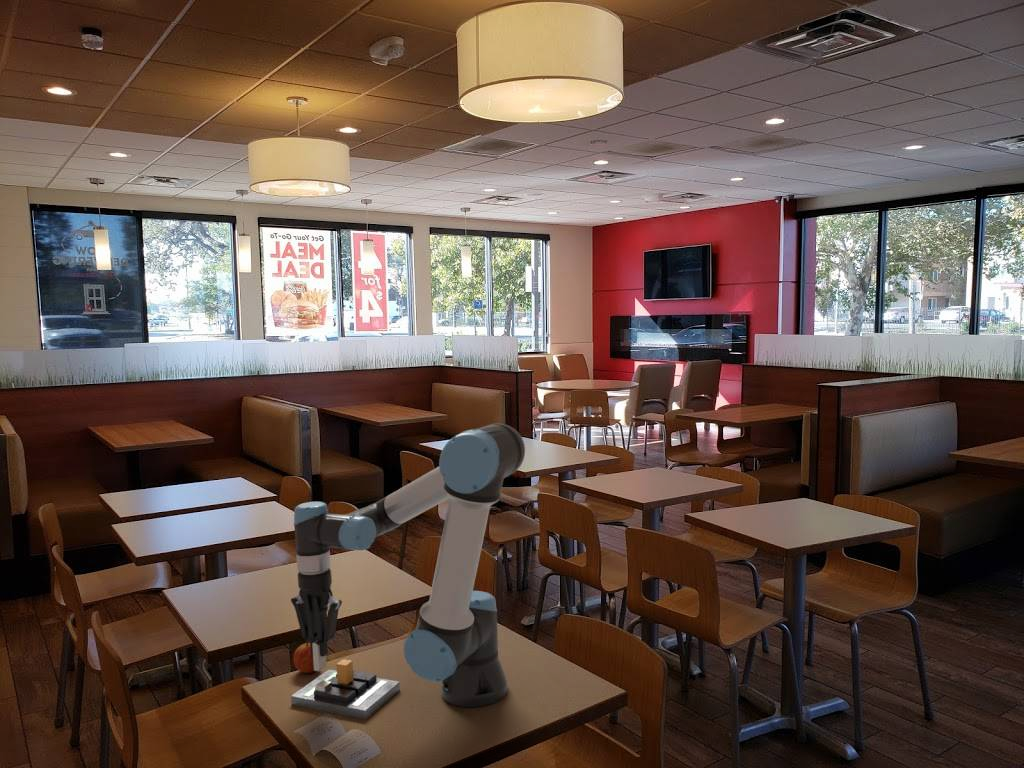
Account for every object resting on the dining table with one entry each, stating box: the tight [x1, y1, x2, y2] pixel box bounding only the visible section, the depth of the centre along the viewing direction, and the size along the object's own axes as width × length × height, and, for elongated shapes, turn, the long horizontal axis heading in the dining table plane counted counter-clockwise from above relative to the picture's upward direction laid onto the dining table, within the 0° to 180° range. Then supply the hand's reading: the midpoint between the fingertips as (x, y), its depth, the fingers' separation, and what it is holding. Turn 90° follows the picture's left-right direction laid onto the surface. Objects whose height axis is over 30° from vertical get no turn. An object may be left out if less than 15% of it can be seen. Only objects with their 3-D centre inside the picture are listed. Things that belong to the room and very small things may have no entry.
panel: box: [290, 669, 401, 720], centre depth 173 cm, size 20×14×5 cm
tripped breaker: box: [336, 658, 354, 685], centre depth 173 cm, size 3×3×4 cm
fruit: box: [293, 640, 315, 674], centre depth 187 cm, size 7×7×8 cm
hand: (320, 668), depth 175 cm, fingers closed
